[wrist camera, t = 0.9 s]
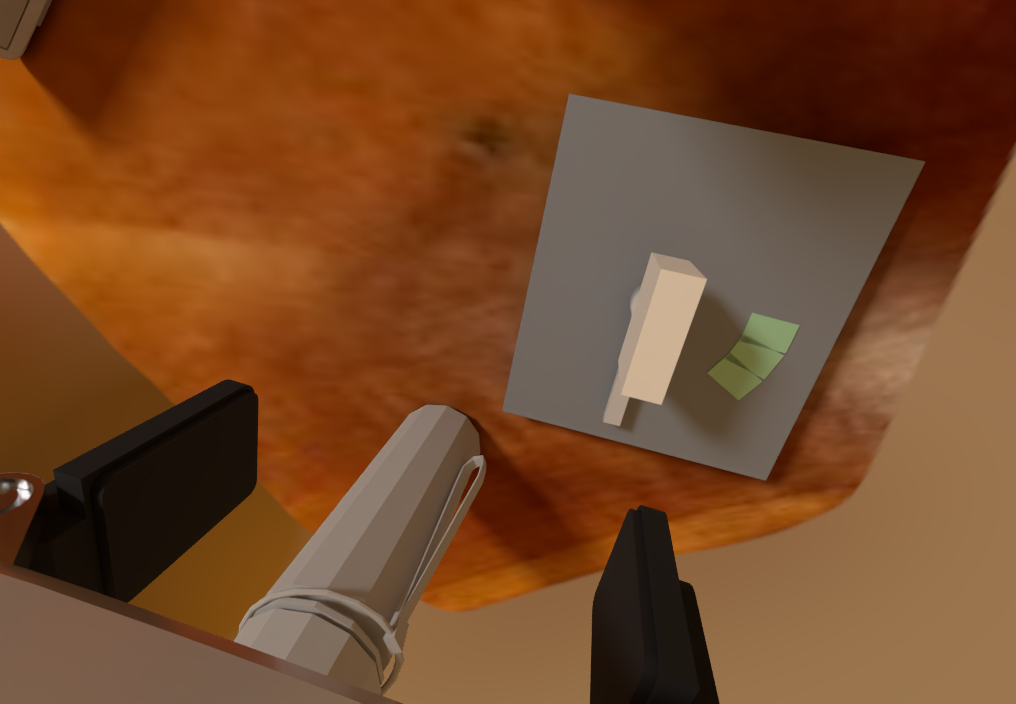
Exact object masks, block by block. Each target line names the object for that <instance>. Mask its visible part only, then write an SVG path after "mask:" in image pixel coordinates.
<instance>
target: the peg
mask: <svg viewBox="0 0 1016 704" xmlns="http://www.w3.org/2000/svg"><path fill="white" fill-rule="evenodd" d="M706 281H707V279H706V278H705V276H704V275H703V274H702V273H701V272H700V271H699V270H698V269H697V268H696V267H695V266H694V265H693V264H692V263H691V262H690V261H688V260H684V259H679V258H675V257H670V256H666V255H661V254H657V253H652V252H651V256H650V259H649V262H648V265H647V268H646V272H645V275H644V278H643V281H642V284H641V285H639V286H637V287H636V288H635V289H634V290H633V291H632V293H631V295H630V298H629V305H630V310H631V315H632V317H631V320H630V324H629V327H628V330H627V333H626V337H625V340H624V343H623V346H622V350H621V353H620V356H619V359H618V365H619V367H618V370H617V374H616V377H615V380H614V383H613V387H612V390H611V393H610V396H609V399H608V403H607V406H606V409H605V412H604V415H603V422H605V423H609V424H613V425H617V426H620V424H621V421H622V418H623V415H624V412H625V409H626V406H627V403H628V400H629V397H632V398H636V399H640V400H644V401H648V402H652V403H656V404H660V405H662V402H663V399H664V397H665V394H666V391H667V388H668V386H669V383H670V380H671V377H672V375H673V372H674V369H675V366H676V364H677V361H678V358H679V355H680V353H681V350H682V347H683V344H684V342H685V339H686V336H687V333H688V331H689V328H690V325H691V322H692V320H693V317H694V314H695V311H696V309H697V306H698V303H699V300H700V298H701V295H702V292H703V289H704V287H705V284H706Z"/></svg>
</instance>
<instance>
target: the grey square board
mask: <svg viewBox="0 0 1016 704" xmlns="http://www.w3.org/2000/svg"><path fill="white" fill-rule="evenodd" d="M925 162H926V161H920V160H915V159H910V158H905V157H899V156H894V155H889V154H884V153H878V152H873V151H868V150H862V149H857V148H852V147H847V146H841V145H836V144H831V143H826V142H820V141H815V140H810V139H805V138H799V137H794V136H789V135H783V134H778V133H773V132H768V131H762V130H757V129H752V128H747V127H741V126H736V125H731V124H726V123H720V122H715V121H710V120H704V119H699V118H694V117H689V116H683V115H678V114H673V113H668V112H662V111H657V110H652V109H647V108H641V107H636V106H631V105H625V104H620V103H615V102H610V101H604V100H599V99H594V98H589V97H583V96H578V95H573V94H569V97H568V102H567V107H566V111H565V116H564V121H563V125H562V130H561V135H560V140H559V144H558V149H557V154H556V159H555V163H554V168H553V173H552V177H551V182H550V187H549V192H548V196H547V201H546V206H545V211H544V215H543V220H542V225H541V230H540V234H539V239H538V244H537V248H536V253H535V258H534V263H533V267H532V272H531V277H530V282H529V286H528V291H527V296H526V301H525V305H524V310H523V315H522V319H521V324H520V329H519V334H518V338H517V343H516V348H515V353H514V357H513V362H512V367H511V371H510V376H509V381H508V386H507V390H506V395H505V400H504V405H503V409H502V411H504V412H508V413H512V414H515V415H519V416H523V417H527V418H531V419H534V420H538V421H542V422H546V423H549V424H553V425H557V426H561V427H565V428H568V429H572V430H576V431H580V432H583V433H587V434H591V435H595V436H599V437H602V438H606V439H610V440H614V441H618V442H621V443H625V444H629V445H633V446H636V447H640V448H644V449H648V450H652V451H655V452H659V453H663V454H667V455H670V456H674V457H678V458H682V459H686V460H689V461H693V462H697V463H701V464H704V465H708V466H712V467H716V468H720V469H723V470H727V471H731V472H735V473H739V474H742V475H746V476H750V477H754V478H757V479H761V480H765V481H766V479H767V477H768V475H769V473H770V471H771V469H772V467H773V465H774V463H775V461H776V459H777V457H778V455H779V453H780V451H781V449H782V447H783V445H784V443H785V441H786V439H787V437H788V435H789V433H790V431H791V429H792V427H793V425H794V424H795V422H796V420H797V418H798V416H799V414H800V412H801V410H802V408H803V406H804V404H805V402H806V400H807V398H808V396H809V394H810V392H811V390H812V388H813V386H814V384H815V382H816V380H817V378H818V376H819V374H820V372H821V370H822V368H823V366H824V364H825V362H826V360H827V358H828V356H829V354H830V352H831V350H832V348H833V346H834V344H835V342H836V340H837V338H838V336H839V334H840V332H841V330H842V328H843V326H844V324H845V322H846V320H847V318H848V316H849V314H850V312H851V310H852V308H853V306H854V304H855V302H856V300H857V298H858V296H859V294H860V292H861V290H862V288H863V286H864V284H865V282H866V280H867V278H868V276H869V274H870V272H871V270H872V268H873V266H874V264H875V262H876V260H877V258H878V256H879V254H880V252H881V250H882V248H883V246H884V244H885V242H886V240H887V238H888V236H889V234H890V232H891V230H892V228H893V226H894V224H895V222H896V220H897V218H898V216H899V214H900V212H901V210H902V208H903V206H904V204H905V202H906V200H907V198H908V196H909V194H910V192H911V190H912V188H913V186H914V184H915V182H916V180H917V178H918V176H919V174H920V172H921V170H922V168H923V166H924V164H925ZM651 252H652V253H657V254H661V255H666V256H670V257H675V258H679V259H684V260H688V261H690V262H691V263H692V264H693V265H694V266H695V267H696V268H697V269H698V270H699V271H700V272H701V273H702V274H703V275H704V276H705V278H706V279H707V281H706V284H705V287H704V289H703V292H702V295H701V298H700V300H699V303H698V306H697V309H696V311H695V314H694V317H693V320H692V322H691V325H690V328H689V331H688V333H687V336H686V339H685V342H684V344H683V347H682V350H681V353H680V355H679V358H678V361H677V364H676V366H675V369H674V372H673V375H672V377H671V380H670V383H669V386H668V388H667V391H666V394H665V397H664V399H663V402H662V405H660V404H656V403H652V402H648V401H644V400H640V399H636V398H632V397H629V400H628V403H627V406H626V409H625V412H624V415H623V418H622V421H621V424H620V426H617V425H613V424H609V423H605V422H603V415H604V412H605V409H606V406H607V403H608V399H609V396H610V393H611V390H612V387H613V383H614V380H615V377H616V374H617V370H618V367H619V365H618V359H619V356H620V353H621V350H622V346H623V343H624V340H625V337H626V333H627V330H628V327H629V324H630V320H631V317H632V315H631V310H630V305H629V298H630V295H631V293H632V291H633V290H634V289H635V288H636V287H637V286H639V285H641V284H642V281H643V278H644V275H645V272H646V268H647V265H648V262H649V259H650V256H651Z"/></svg>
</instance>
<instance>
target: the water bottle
mask: <svg viewBox="0 0 1016 704" xmlns="http://www.w3.org/2000/svg"><path fill="white" fill-rule="evenodd" d="M479 455H480V441H479V433H478V432H477V430H476V429H475V427H474V426H473V425H472V423H471V422H470V420H469V419H468V417H467V416H465V415H463V414H461V413H460V412H458V411H456V410H454V409H453V408H451V407H449V406H442V405H425V406H423V407H421V408H420V409H418V410H416V411H414V412H412V413H410V414H409V415H408V417H407V418H406V419H405V420H404V422H403V423H402V424H401V426H400V427H399V428H398V429H397V431H396V432H395V433H394V434H393V436H392V437H391V438H390V439H389V441H388V442H387V443H386V444H385V446H384V447H383V448H382V449H381V451H380V452H379V453H378V454H377V456H376V457H375V458H374V460H373V461H372V462H371V463H370V465H369V466H368V467H367V468H366V470H365V471H364V472H363V473H362V475H361V476H360V477H359V478H358V480H357V481H356V482H355V483H354V485H353V486H352V487H351V489H350V490H349V491H348V492H347V494H346V495H345V496H344V497H343V499H342V500H341V501H340V502H339V504H338V505H337V506H336V507H335V509H334V510H333V511H332V512H331V514H330V515H329V516H328V517H327V519H326V520H325V521H324V523H323V524H322V525H321V526H320V528H319V529H318V530H317V531H316V533H315V534H314V535H313V536H312V538H311V539H310V540H309V541H308V543H307V544H306V545H305V546H304V548H303V549H302V550H301V552H300V553H299V554H298V555H297V557H296V558H295V559H294V560H293V562H292V563H291V564H290V566H289V567H288V568H287V569H286V570H285V572H284V573H283V574H282V576H281V577H280V578H279V579H278V581H277V582H276V583H275V584H274V586H273V587H272V588H271V590H270V591H269V592H268V593H267V594H266V597H265V598H263V599H261V600H259V601H258V602H257V603H256V604H254V605H253V606H251V607H250V609H249V610H248V612H247V613H246V615H245V616H244V618H243V620H242V621H241V623H240V625H239V634H238V635H237V637H236V638H235V640H234V642H236V643H239V644H242V645H245V646H247V647H250V648H253V649H256V650H258V651H261V652H264V653H267V654H269V655H272V656H275V657H278V658H280V659H283V660H286V661H289V662H291V663H294V664H297V665H299V666H302V667H305V668H308V669H310V670H313V671H316V672H319V673H321V674H324V675H327V676H329V677H332V678H335V679H338V680H340V681H343V682H346V683H348V684H351V685H354V686H357V687H359V688H362V689H365V690H367V691H370V692H373V693H375V694H378V695H381V696H383V695H384V694H385V693H386V692H387V690H388V689H389V688H390V687H391V686H392V684H393V683H394V682H395V681H396V679H397V677H398V674H399V672H400V669H401V667H402V665H403V662H404V658H403V653H402V651H403V646H404V642H405V638H406V633H407V629H408V622H407V621H408V619H409V617H410V616H411V614H412V612H413V610H414V608H415V606H416V605H417V603H418V601H419V599H420V597H421V595H422V594H423V592H424V590H425V588H426V586H427V584H428V583H429V581H430V579H431V577H432V575H433V574H434V572H435V570H436V568H437V566H438V564H439V563H440V561H441V559H442V557H443V555H444V553H445V552H446V550H447V548H448V546H449V544H450V542H451V541H452V539H453V537H454V535H455V533H456V531H457V530H458V528H459V526H460V524H461V522H462V520H463V519H464V517H465V515H466V513H467V511H468V510H469V508H470V506H471V504H472V502H473V500H474V499H475V497H476V495H477V493H478V491H479V489H480V488H481V486H482V484H483V481H484V477H485V474H486V461H485V458H484V456H483V455H481V456H479ZM479 466H480V469H479V472H478V475H477V477H476V479H475V481H474V483H473V484H472V486H471V488H470V490H469V492H468V493H467V495H466V497H465V499H464V500H463V502H462V504H461V506H460V508H459V509H458V511H457V513H456V515H455V517H454V518H453V520H452V522H451V524H450V521H451V519H452V517H453V515H454V512H455V510H456V508H457V505H458V503H459V501H460V498H461V496H462V494H463V492H464V489H465V487H466V485H467V482H468V480H469V478H470V475H471V473H472V471H473V470H474V469H476V468H477V467H479ZM449 524H450V525H449ZM448 526H449V527H448ZM447 528H448V529H447ZM393 654H395V664H394V669H393V671H392V673H391V675H390V677H389V678H388V680H387V681H386V682H385V684H384V685H383V686H382V687H380V685H381V684H382V681H383V679H384V675H383V671H384V669H385V668H386V666H387V665H388V663H389V662H390V659H391V657H392V655H393Z"/></svg>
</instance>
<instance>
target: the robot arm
mask: <svg viewBox="0 0 1016 704" xmlns="http://www.w3.org/2000/svg"><path fill="white" fill-rule="evenodd" d="M257 445H258V396H257V394H255V393H254V390H253V388H252V387H251V386H249V385H246V384H243V383H240V382H236V381H233V380H224V381H222V382H220V383H218V384H216V385H214V386H212V387H210V388H208V389H206V390H205V391H203V392H201V393H199V394H197V395H195V396H193V397H191V398H189V399H187V400H185V401H184V402H182V403H180V404H178V405H176V406H174V407H172V408H170V409H169V410H166V411H165V412H163V413H161V414H159V415H157V416H155V417H153V418H152V419H149V420H147V421H145V422H144V423H142V424H140V425H138V426H136V427H134V428H132V429H130V430H128V431H126V432H125V433H123V434H121V435H119V436H117V437H115V438H113V439H111V440H109V441H108V442H105V443H104V444H102V445H100V446H98V447H96V448H94V449H92V450H90V451H88V452H86V453H85V454H83V455H81V456H79V457H77V458H75V459H73V460H71V461H69V462H67V463H65V464H64V465H62V466H60V467H58V468H56V469H54V470H53V471H54V477H55V480H53V481H51V482H50V483H48V484H46V485H45V484H44V482H43V481H42V480H41V479H40V478H38V477H36V476H34V475H32V474H25V473H1V474H0V704H402V703H399V702H397V701H394V700H391V699H389V698H386V697H383V696H381V695H378V694H375V693H373V692H370V691H367V690H365V689H362V688H359V687H357V686H354V685H351V684H348V683H346V682H343V681H340V680H338V679H335V678H332V677H329V676H327V675H324V674H321V673H319V672H316V671H313V670H310V669H308V668H305V667H302V666H299V665H297V664H294V663H291V662H289V661H286V660H283V659H280V658H278V657H275V656H272V655H269V654H267V653H264V652H261V651H258V650H256V649H253V648H250V647H247V646H245V645H242V644H239V643H236V642H234V641H231V640H228V639H225V638H223V637H220V636H217V635H214V634H212V633H209V632H206V631H203V630H201V629H198V628H195V627H192V626H190V625H187V624H184V623H181V622H178V621H176V620H173V619H170V618H167V617H164V616H161V615H159V614H156V613H153V612H150V611H148V610H145V609H142V608H139V607H136V606H134V605H131V604H128V603H127V602H129V601H130V600H132V599H133V598H134V597H135V596H136V595H137V594H139V593H140V592H141V591H142V590H143V589H144V588H145V587H147V586H148V585H149V584H150V583H151V582H152V581H153V580H154V579H156V578H157V577H158V576H159V575H160V574H161V573H162V572H163V571H165V570H166V569H167V568H168V567H169V566H170V565H171V564H172V563H174V561H176V560H177V559H178V558H179V557H180V556H182V554H183V553H185V552H186V551H187V550H188V549H189V548H190V547H192V545H194V544H195V543H196V542H197V541H198V540H200V539H201V538H202V537H203V536H204V535H205V534H206V533H207V532H209V531H210V530H211V529H212V528H213V527H214V526H215V525H216V524H217V523H219V522H220V521H221V520H222V519H223V518H224V517H225V516H227V514H229V513H230V512H231V511H232V510H233V509H234V508H236V507H237V506H238V505H239V504H240V503H241V502H242V501H243V500H245V499H246V498H247V497H248V496H249V495H250V494H251V493H252V491H253V490H254V488H255V485H256V482H257ZM590 688H591V689H590V704H719V699H718V695H717V691H716V686H715V681H714V677H713V672H712V668H711V663H710V659H709V654H708V650H707V645H706V641H705V636H704V632H703V627H702V623H701V618H700V613H699V609H698V605H697V600H696V595H695V592H694V589H693V587H692V585H691V584H690V583H687V582H684V581H681V580H679V578H678V573H677V567H676V562H675V557H674V551H673V546H672V541H671V535H670V530H669V525H668V519H667V515H666V513H665V512H662V511H659V510H656V509H652V508H649V507H646V506H643V505H640V506H639V507H638V509H637V510H634V509H629V511H628V513H627V515H626V517H625V520H624V522H623V525H622V527H621V530H620V532H619V535H618V537H617V540H616V542H615V545H614V547H613V550H612V552H611V555H610V557H609V560H608V562H607V565H606V567H605V570H604V572H603V575H602V577H601V580H600V582H599V585H598V587H597V590H596V593H595V596H594V601H593V609H592V646H591V685H590Z"/></svg>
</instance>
